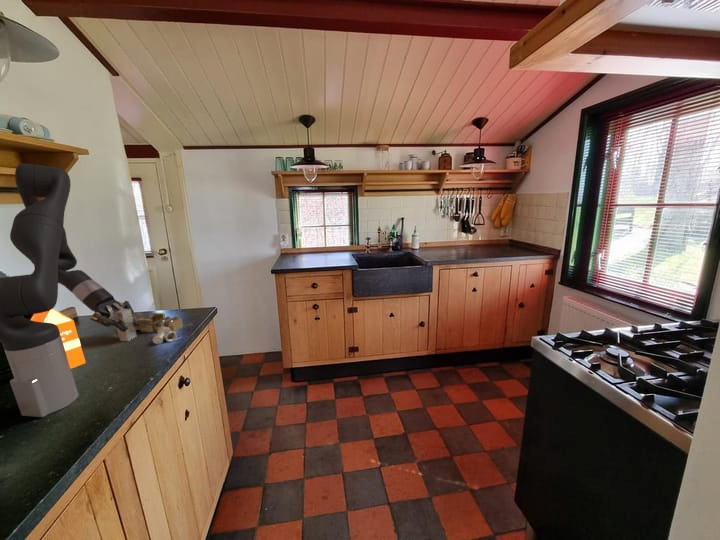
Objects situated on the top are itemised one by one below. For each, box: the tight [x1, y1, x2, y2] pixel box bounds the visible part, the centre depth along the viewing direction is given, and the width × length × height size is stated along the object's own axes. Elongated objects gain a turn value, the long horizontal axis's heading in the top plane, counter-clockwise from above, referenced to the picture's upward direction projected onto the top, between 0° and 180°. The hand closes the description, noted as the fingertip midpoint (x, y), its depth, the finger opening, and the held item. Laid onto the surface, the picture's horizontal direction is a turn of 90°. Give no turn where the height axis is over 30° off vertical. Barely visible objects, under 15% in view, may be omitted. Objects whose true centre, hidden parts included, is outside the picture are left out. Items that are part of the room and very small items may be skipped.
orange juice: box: [30, 308, 86, 370], centre depth 90 cm, size 8×9×20 cm
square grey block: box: [113, 309, 138, 342], centre depth 108 cm, size 4×4×11 cm
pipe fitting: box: [152, 326, 178, 345], centre depth 108 cm, size 8×4×7 cm
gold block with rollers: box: [132, 312, 184, 333], centre depth 117 cm, size 7×21×5 cm, turn 83°
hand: (130, 327), depth 108 cm, fingers closed on square grey block, 3 cm apart
